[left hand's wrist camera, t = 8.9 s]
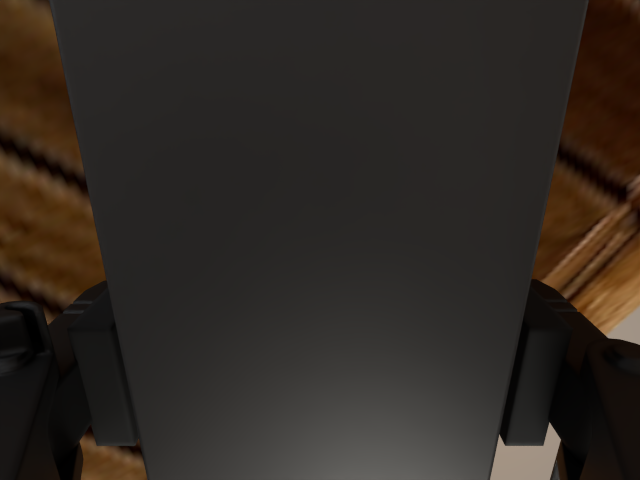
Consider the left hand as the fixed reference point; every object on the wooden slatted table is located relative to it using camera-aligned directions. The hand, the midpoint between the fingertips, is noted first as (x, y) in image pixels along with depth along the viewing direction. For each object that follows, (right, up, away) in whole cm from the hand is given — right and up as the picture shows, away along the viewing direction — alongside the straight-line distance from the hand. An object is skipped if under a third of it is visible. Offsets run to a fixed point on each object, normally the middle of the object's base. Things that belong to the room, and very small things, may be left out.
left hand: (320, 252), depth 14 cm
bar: (0, +9, -2) cm, 9 cm away
